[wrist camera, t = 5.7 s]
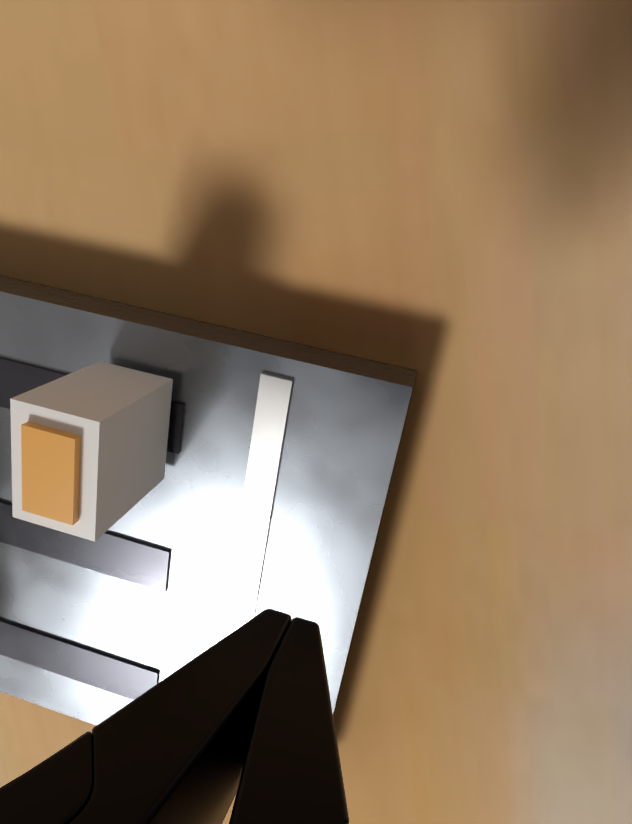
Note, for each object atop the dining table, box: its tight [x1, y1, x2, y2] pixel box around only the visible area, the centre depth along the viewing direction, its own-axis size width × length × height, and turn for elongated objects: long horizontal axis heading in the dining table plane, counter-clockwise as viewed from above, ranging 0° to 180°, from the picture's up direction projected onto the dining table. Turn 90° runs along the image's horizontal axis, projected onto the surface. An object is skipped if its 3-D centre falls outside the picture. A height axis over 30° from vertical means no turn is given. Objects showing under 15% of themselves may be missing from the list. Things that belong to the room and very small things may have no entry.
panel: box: [0, 276, 417, 725], centre depth 18 cm, size 18×14×2 cm
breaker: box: [10, 361, 173, 542], centre depth 14 cm, size 2×3×3 cm
